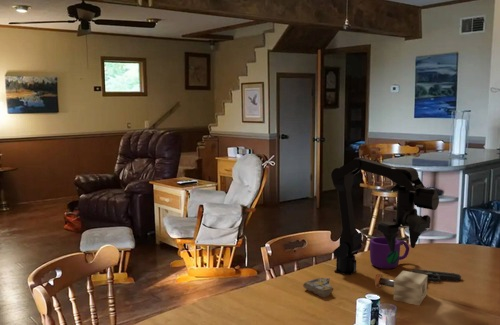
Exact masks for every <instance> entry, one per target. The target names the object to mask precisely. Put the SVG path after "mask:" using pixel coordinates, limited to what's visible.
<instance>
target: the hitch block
mask: <svg viewBox="0 0 500 325" xmlns="http://www.w3.org/2000/svg"><path fill="white" fill-rule="evenodd" d="M393 280H394V287H393V301H397V302H401V303H406V304H411V305H415V306H420V305H421V304H422V302H423V301H424V300H425V298H426V296H427V293H428V281H427V275H424V274H419V273H413V272H411V271H407V270H401V272H400V273H398V275H397V276H396V277H395V278H394V279H393Z"/></svg>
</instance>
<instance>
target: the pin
mask: <svg viewBox="0 0 500 325" xmlns="http://www.w3.org/2000/svg"><path fill="white" fill-rule="evenodd" d="M381 286H385V287H390V288H394V279H391V278H390V279H389V278H386V277H383V274H380V273H377V274H376V275H375V277H374V287H375V288H379V289H380V288H381Z"/></svg>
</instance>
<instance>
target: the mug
mask: <svg viewBox="0 0 500 325" xmlns="http://www.w3.org/2000/svg"><path fill="white" fill-rule="evenodd" d="M369 240H370V241H369V258H370V263H371V265H372V266H373V267H375V268H377V267H378V269H382V270H383V269H384V270H391V269H395V268H396V267H397V266H398V265H399V262H400V261H401V260H404V259H405V258H407V257H408V255H409V253H410V246H409V245H408V243H407V242H406V241H405V240H398V239H397V238H396V240H395V249H394V252H392V251H391V250H390V247H389V245H388V242H387V240H386V238H385V236H377V237H373V238H371V239H369ZM401 245H403V246H404V248H405V251H404V253H403V255H401V256H400V254H401Z"/></svg>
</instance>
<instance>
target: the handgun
mask: <svg viewBox="0 0 500 325" xmlns="http://www.w3.org/2000/svg"><path fill="white" fill-rule="evenodd" d="M410 272H413V273H419V274H424V275H427V282H432V283H433V282H434V283H440V282H441V281H448V282H450V281H451V282H452V281H453V282H457V281H458V282H460V281H461V280H462V275H461V274H460V273H459V274H458V273H454V272H444V271H435V270H426V269H415V268H414V269H411V270H410Z"/></svg>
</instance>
